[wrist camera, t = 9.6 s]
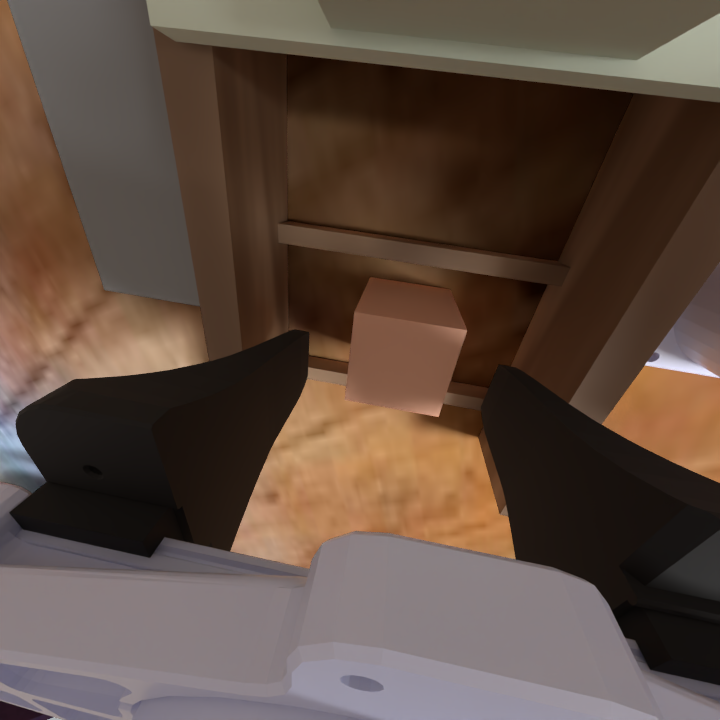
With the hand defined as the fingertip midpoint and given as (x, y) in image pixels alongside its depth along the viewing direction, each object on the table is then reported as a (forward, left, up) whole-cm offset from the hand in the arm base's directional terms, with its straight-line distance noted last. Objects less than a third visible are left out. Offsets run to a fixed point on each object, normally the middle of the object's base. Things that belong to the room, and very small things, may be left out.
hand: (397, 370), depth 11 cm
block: (0, 0, -5) cm, 5 cm away
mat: (+12, -6, -5) cm, 15 cm away
